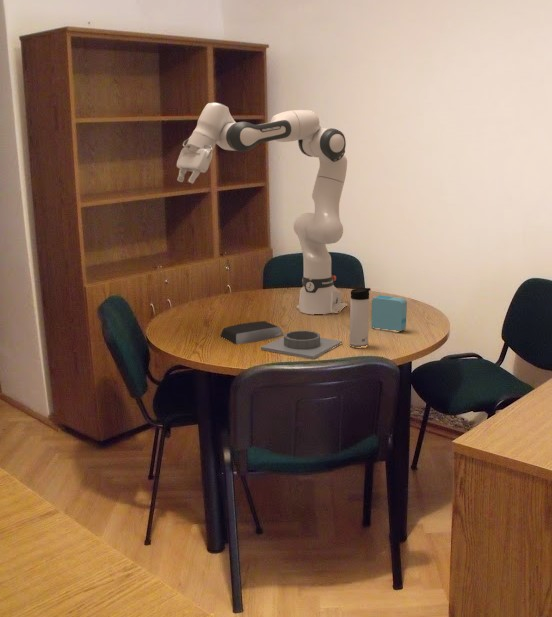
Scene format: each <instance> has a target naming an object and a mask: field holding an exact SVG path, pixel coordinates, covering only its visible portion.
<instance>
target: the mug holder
mask: <svg viewBox="0 0 552 617" xmlns="http://www.w3.org/2000/svg"><path fill="white" fill-rule="evenodd" d="M340 343H342V344H343V341H342V340H338V339H330V338H326V337H321V334H320V333H319V332H316V331H311V330H292V331H289V332H285V333H283V336H281V337H279V338H278V339H277V338H276V340H273V341H271V342H269V343H266V344H264V345H262V346H260V350H261V351H266V352H270V353H271V352H272V353H276V354H281V355H282V354H283V355H288V356H294V357H297V358H298V357H299V358H304V359H308V360H309V359H310V360H315V359H317V358H319V357H320V356H323V355H324V354H326V353H328V352H330V351H331V350H330V349H332V348H333V347H335V346H337V345H339V344H340ZM339 346H340V345H339ZM337 347H338V346H337ZM329 350H330V351H329ZM332 350H333V349H332ZM327 351H328V352H327ZM325 352H326V353H325Z"/></svg>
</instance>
